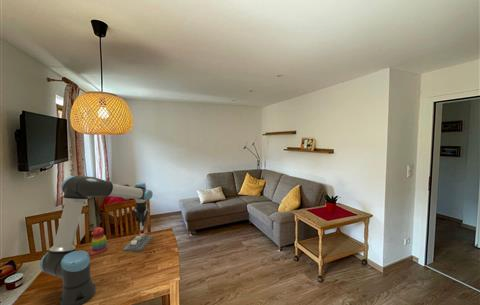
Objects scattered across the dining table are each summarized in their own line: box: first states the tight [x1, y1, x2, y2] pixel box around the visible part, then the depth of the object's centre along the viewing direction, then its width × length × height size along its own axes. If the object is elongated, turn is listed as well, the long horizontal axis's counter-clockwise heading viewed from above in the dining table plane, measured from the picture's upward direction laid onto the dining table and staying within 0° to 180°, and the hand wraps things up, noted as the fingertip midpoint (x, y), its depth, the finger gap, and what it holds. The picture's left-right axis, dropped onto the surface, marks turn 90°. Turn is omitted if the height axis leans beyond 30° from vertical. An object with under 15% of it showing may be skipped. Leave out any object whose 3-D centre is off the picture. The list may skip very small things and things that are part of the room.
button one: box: [130, 239, 137, 246], centre depth 158 cm, size 4×4×3 cm
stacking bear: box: [89, 226, 108, 256], centre depth 155 cm, size 11×10×18 cm
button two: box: [135, 235, 141, 242], centre depth 164 cm, size 4×4×3 cm
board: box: [122, 234, 154, 252], centre depth 165 cm, size 20×14×3 cm
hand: (141, 229), depth 170 cm, fingers closed
